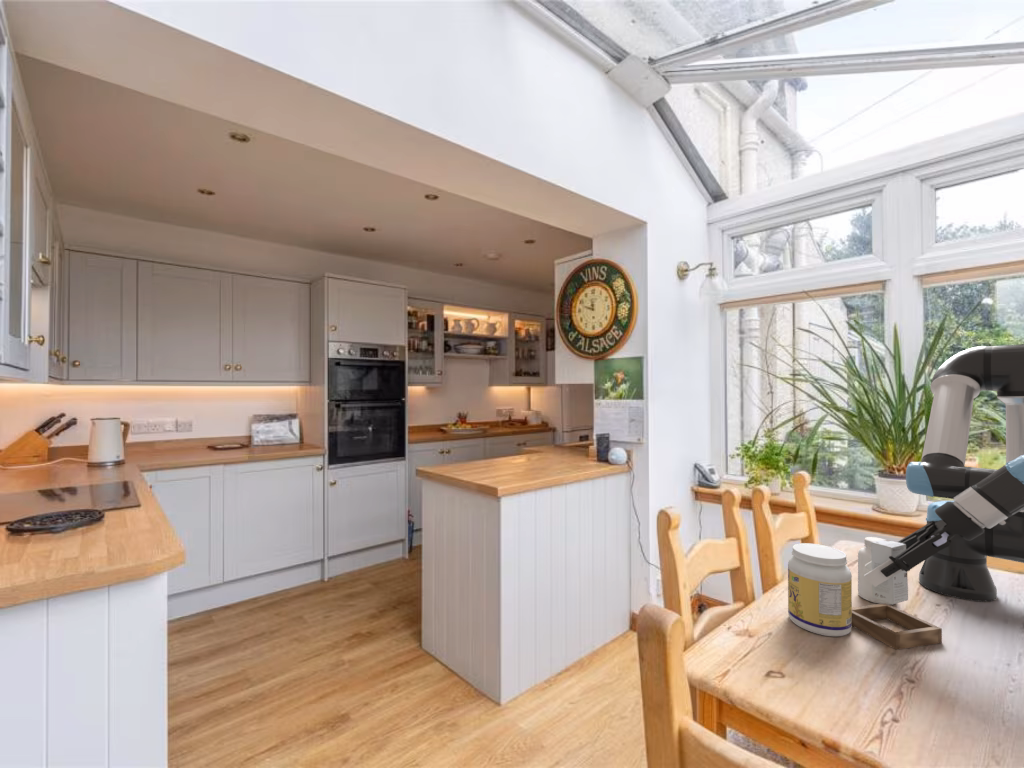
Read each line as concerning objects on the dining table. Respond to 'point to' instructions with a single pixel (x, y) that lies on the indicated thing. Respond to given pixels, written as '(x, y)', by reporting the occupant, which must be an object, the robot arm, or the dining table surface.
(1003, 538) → the robot arm
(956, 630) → the dining table surface
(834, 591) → the supplement tub
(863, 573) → the pill bottle
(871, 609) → the holder
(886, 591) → the skincare box
